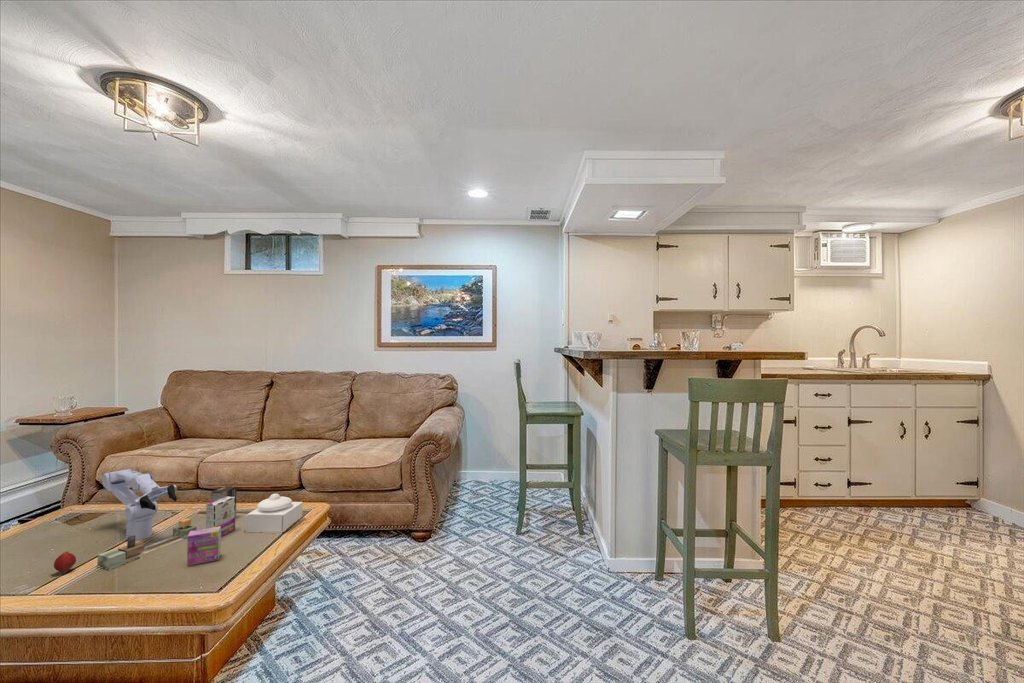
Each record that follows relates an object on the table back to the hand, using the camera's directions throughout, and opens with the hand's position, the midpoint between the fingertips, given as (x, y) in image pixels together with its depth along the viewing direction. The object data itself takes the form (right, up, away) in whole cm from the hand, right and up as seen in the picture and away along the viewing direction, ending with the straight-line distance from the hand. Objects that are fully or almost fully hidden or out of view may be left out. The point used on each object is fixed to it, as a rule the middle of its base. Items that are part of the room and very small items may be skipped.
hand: (165, 503), depth 183 cm
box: (+24, -19, -11) cm, 33 cm away
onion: (-22, -19, -20) cm, 35 cm away
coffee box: (+5, -20, +29) cm, 36 cm away
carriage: (-7, -17, -9) cm, 20 cm away
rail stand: (-4, -19, -2) cm, 20 cm away
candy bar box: (+16, -20, +12) cm, 28 cm away
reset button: (0, -16, +11) cm, 19 cm away
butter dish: (+34, -20, +24) cm, 46 cm away
